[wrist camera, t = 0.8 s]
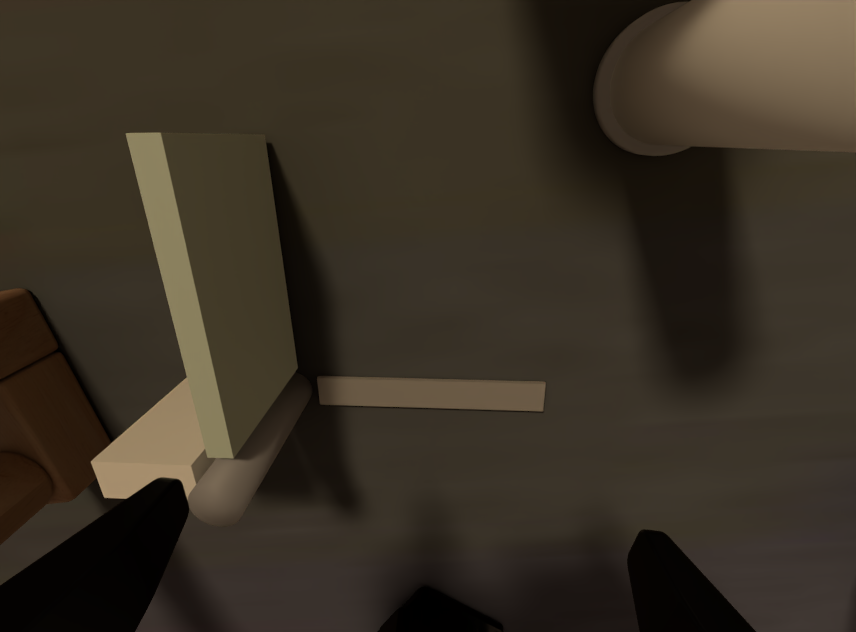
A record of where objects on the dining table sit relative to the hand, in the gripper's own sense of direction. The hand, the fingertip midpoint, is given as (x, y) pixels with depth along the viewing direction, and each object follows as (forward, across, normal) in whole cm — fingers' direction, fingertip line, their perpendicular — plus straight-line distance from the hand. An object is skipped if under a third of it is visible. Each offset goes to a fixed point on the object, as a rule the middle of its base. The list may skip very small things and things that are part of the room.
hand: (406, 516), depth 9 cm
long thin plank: (+12, +3, +7) cm, 15 cm away
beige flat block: (+13, +8, +1) cm, 15 cm away
